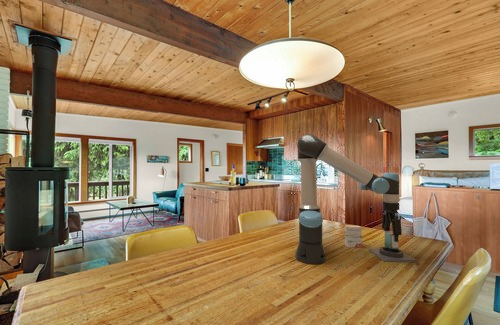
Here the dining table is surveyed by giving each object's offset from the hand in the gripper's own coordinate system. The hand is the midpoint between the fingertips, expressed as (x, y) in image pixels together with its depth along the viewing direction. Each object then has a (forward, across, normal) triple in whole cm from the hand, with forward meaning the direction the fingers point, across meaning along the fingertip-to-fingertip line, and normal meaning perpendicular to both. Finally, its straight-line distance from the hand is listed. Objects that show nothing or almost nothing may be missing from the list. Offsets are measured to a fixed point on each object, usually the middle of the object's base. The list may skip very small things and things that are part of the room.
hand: (391, 245), depth 130 cm
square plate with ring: (+6, 0, 0) cm, 6 cm away
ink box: (+6, +15, +14) cm, 21 cm away
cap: (+1, 0, 0) cm, 1 cm away
